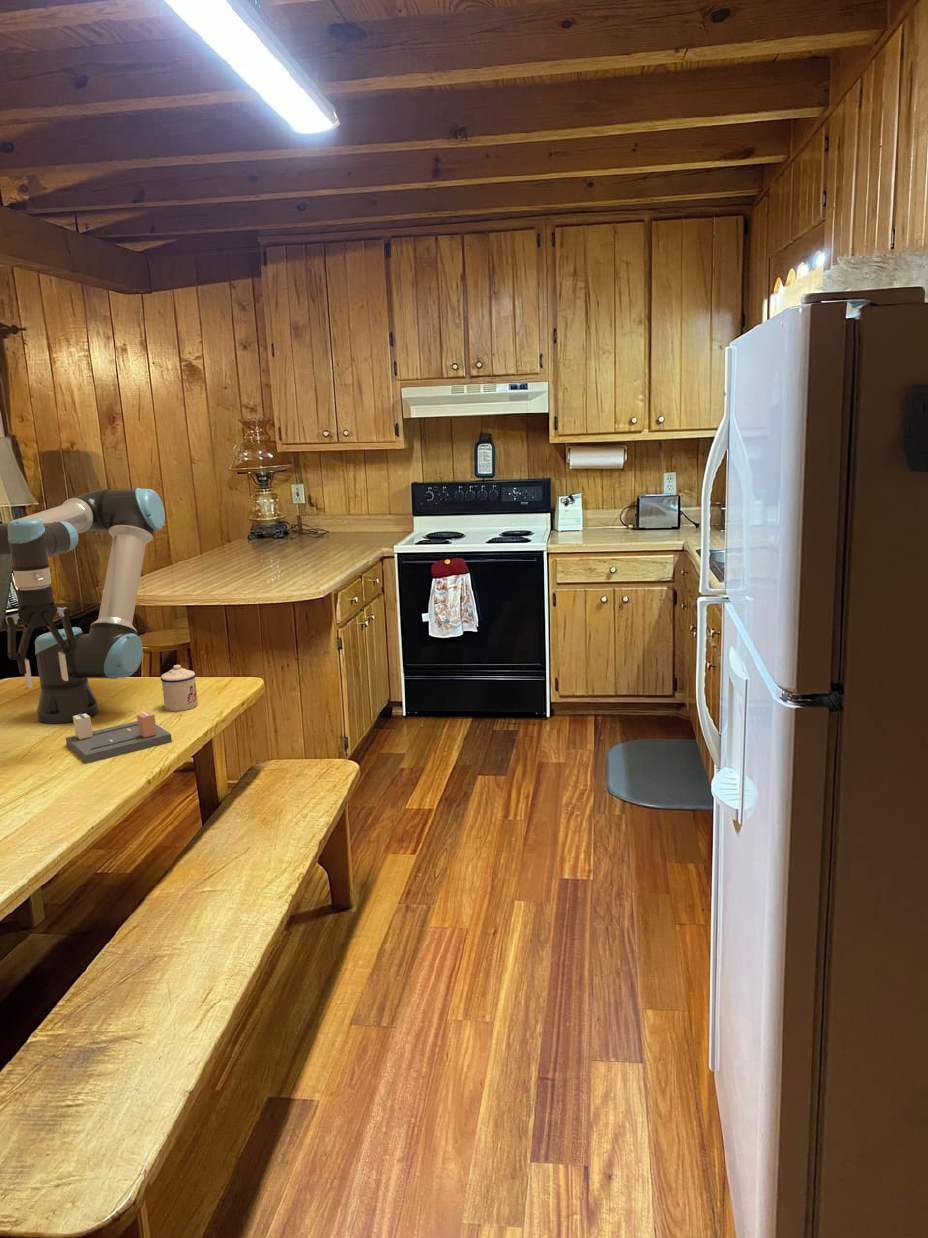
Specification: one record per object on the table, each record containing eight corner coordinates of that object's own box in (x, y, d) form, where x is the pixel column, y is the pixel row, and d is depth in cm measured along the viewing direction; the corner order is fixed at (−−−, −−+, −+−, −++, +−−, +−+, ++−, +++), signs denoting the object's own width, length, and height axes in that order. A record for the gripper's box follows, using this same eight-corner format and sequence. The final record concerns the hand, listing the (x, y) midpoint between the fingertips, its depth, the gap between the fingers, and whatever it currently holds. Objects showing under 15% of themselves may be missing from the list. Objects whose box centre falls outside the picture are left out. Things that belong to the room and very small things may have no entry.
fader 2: (139, 733, 217) (136, 713, 216) (151, 731, 219) (149, 710, 218) (144, 737, 215) (142, 717, 214) (156, 734, 217) (154, 714, 215)
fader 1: (75, 735, 218) (72, 715, 217) (88, 732, 220) (85, 712, 219) (79, 739, 215) (77, 718, 214) (92, 736, 217) (90, 715, 216)
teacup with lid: (195, 710, 241) (191, 669, 239) (160, 713, 240) (156, 671, 238) (202, 697, 253) (198, 657, 251) (169, 699, 252) (165, 659, 250)
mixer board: (66, 745, 218) (65, 737, 218) (148, 726, 230) (147, 718, 230) (86, 763, 206) (85, 754, 205) (171, 741, 218) (170, 733, 218)
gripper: (-11, 595, 196) (4, 695, 201) (84, 582, 208) (96, 677, 213) (-19, 591, 202) (-4, 688, 207) (74, 579, 214) (86, 671, 219)
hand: (47, 683), depth 210 cm, fingers open, 7 cm apart
